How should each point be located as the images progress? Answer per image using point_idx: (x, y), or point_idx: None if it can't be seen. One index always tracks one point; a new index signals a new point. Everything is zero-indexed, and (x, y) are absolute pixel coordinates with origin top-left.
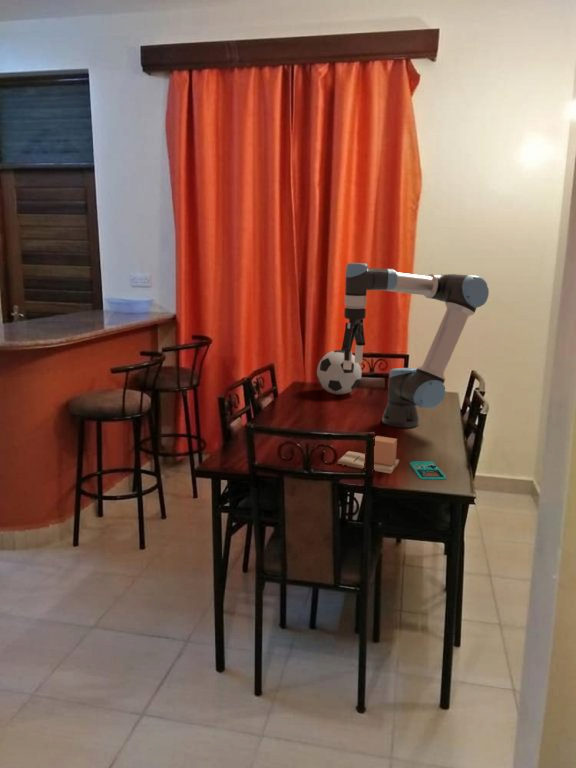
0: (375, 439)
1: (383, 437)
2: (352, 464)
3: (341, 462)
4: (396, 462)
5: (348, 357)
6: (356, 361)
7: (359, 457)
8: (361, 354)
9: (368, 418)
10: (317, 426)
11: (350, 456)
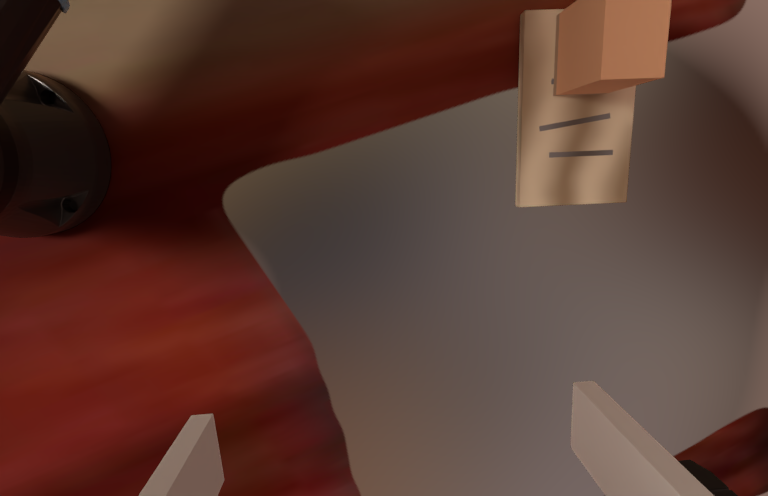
0: (651, 66)
1: (611, 42)
2: (628, 150)
3: (625, 188)
4: (562, 10)
5: (724, 491)
6: (217, 473)
7: (565, 149)
8: (171, 493)
9: (61, 294)
10: (282, 411)
11: (568, 180)
